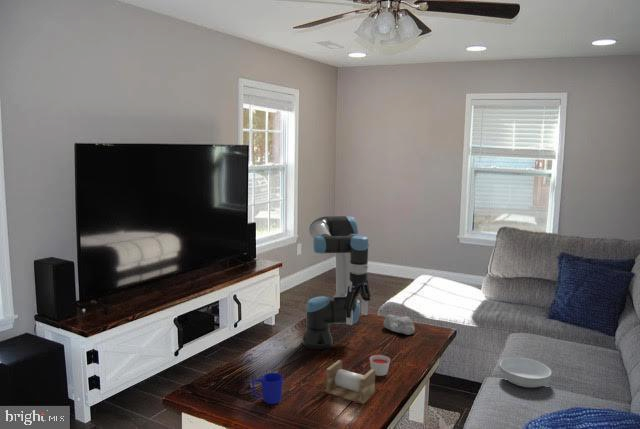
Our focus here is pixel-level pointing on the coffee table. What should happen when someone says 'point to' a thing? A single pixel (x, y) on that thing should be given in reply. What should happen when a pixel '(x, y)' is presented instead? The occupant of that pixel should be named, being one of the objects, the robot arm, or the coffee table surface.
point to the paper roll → (348, 380)
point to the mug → (270, 387)
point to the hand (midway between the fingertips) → (356, 319)
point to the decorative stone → (399, 324)
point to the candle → (380, 364)
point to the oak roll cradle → (365, 390)
